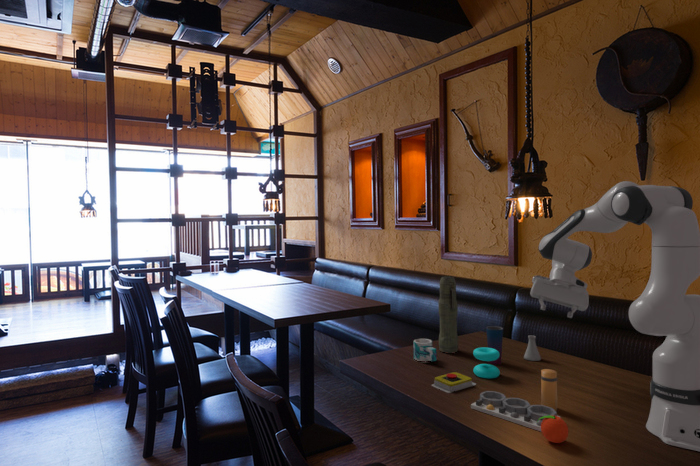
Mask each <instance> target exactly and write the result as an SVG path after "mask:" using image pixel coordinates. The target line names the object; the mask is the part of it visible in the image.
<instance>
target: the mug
mask: <svg viewBox="0 0 700 466" xmlns="http://www.w3.org/2000/svg"><path fill="white" fill-rule="evenodd" d="M414 359H415V360H417V361H425V362H424V363H427V362H426V361H431V362H436V361H437V348H436V347H433V340H432V339H429V338H417V339H414V340H413V360H414ZM415 360H414V361H415ZM417 361H416V362H417Z"/></svg>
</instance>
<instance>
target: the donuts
mask: <svg viewBox="0 0 700 466" xmlns="http://www.w3.org/2000/svg"><path fill="white" fill-rule="evenodd" d="M472 354H473V357H474V358H475V359H477V360H479V361H483V362H489V361H494V360H497V359H498V358H499V356H500V353H499V352H498V351H497V350H496V349H493V348H488V346H487V347H485V346H484V347H477V348H475V349H473V352H472ZM472 370H473V373H474V375H475V376H477V377H479V378H482V379H496V378H498V377H499V376H500V374H501V372H500V369H499V368H498V367H497V366H496V365H495V364H490V363H480V364H479V363H478V364H477V365H475V366H474V367H473V369H472Z"/></svg>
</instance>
